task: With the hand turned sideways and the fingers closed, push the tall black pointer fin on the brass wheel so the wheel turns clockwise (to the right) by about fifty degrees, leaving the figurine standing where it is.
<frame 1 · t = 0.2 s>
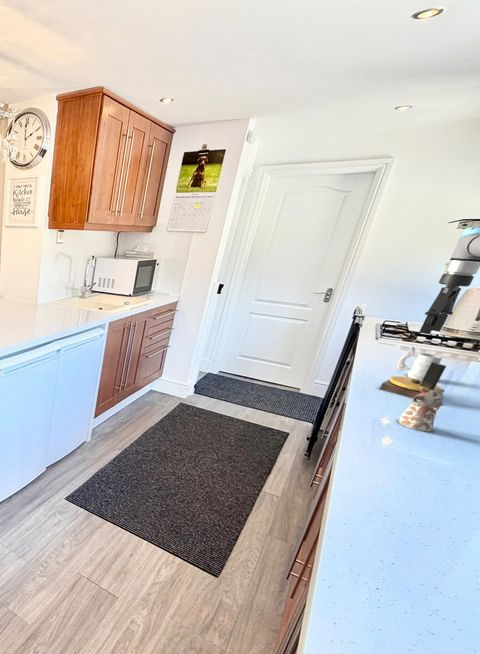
hand: (429, 332, 150), 21 cm above the countertop, tool pointing down, fingers open, 13 cm apart
wheel: (420, 372, 147), point 8 cm above the countertop, hinge at 0.0°
figurine: (413, 426, 124), on the countertop
mug: (412, 377, 168), on the countertop
wheel base: (410, 392, 150), on the countertop
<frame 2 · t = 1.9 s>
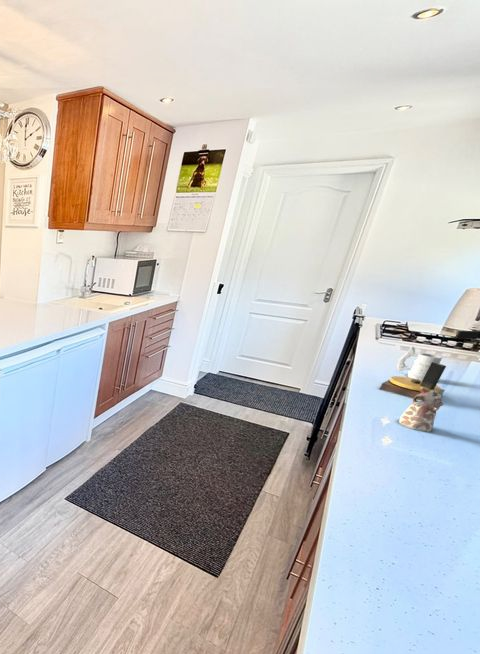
hand: (477, 340, 138), 22 cm above the countertop, tool horizontal, fingers open, 13 cm apart
nothing on the countertop moved.
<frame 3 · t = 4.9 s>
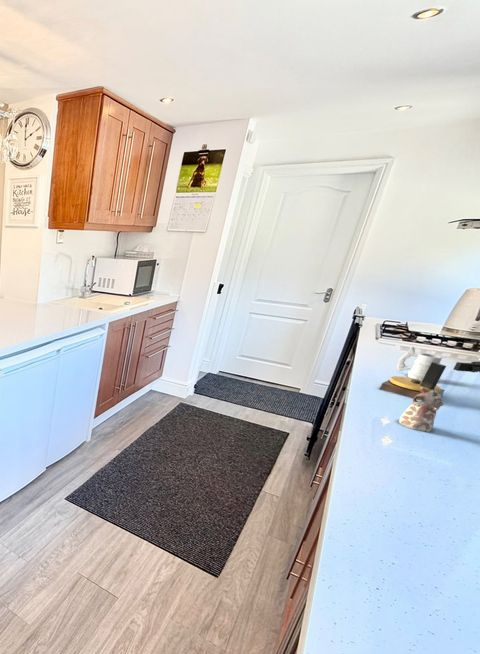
hand: (457, 366, 142), 12 cm above the countertop, tool horizontal, fingers closed
nothing on the countertop moved.
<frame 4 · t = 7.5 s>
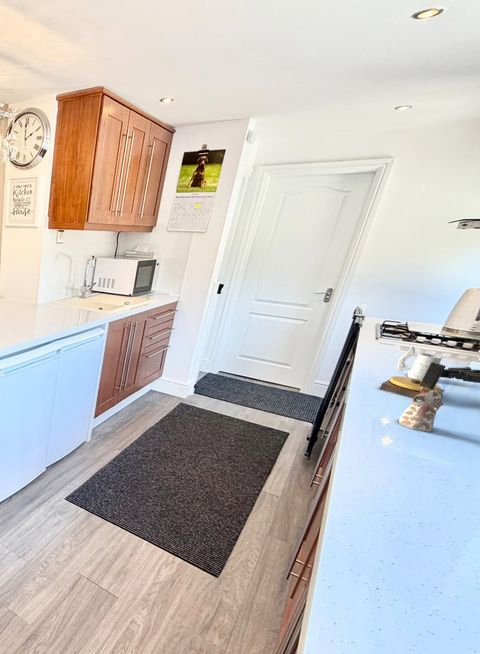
hand: (433, 372, 143), 9 cm above the countertop, tool horizontal, fingers closed
wheel: (420, 372, 147), point 8 cm above the countertop, hinge at -1.5°, touching gripper
everything else where it was.
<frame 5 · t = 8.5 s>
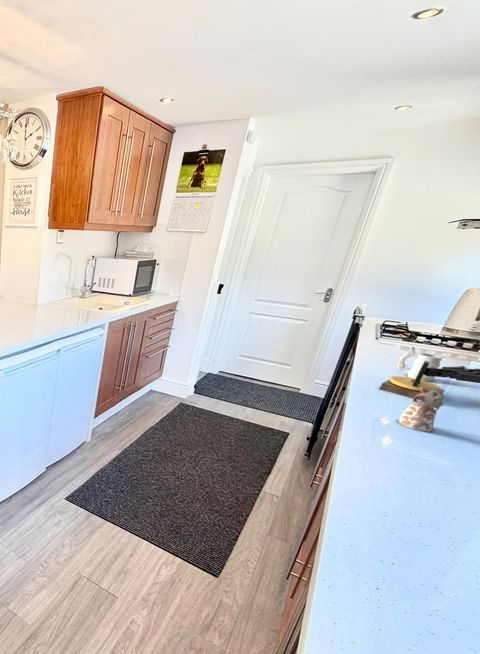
hand: (426, 371, 144), 9 cm above the countertop, tool horizontal, fingers closed
wheel: (420, 372, 147), point 8 cm above the countertop, hinge at -41.9°, touching gripper
everything else where it was.
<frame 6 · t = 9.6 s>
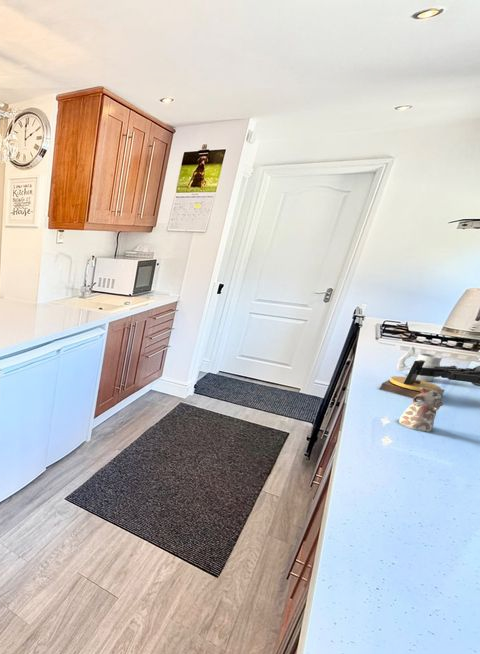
hand: (419, 371, 144), 10 cm above the countertop, tool horizontal, fingers closed
wheel: (420, 372, 147), point 8 cm above the countertop, hinge at -63.4°, touching gripper
everything else where it was.
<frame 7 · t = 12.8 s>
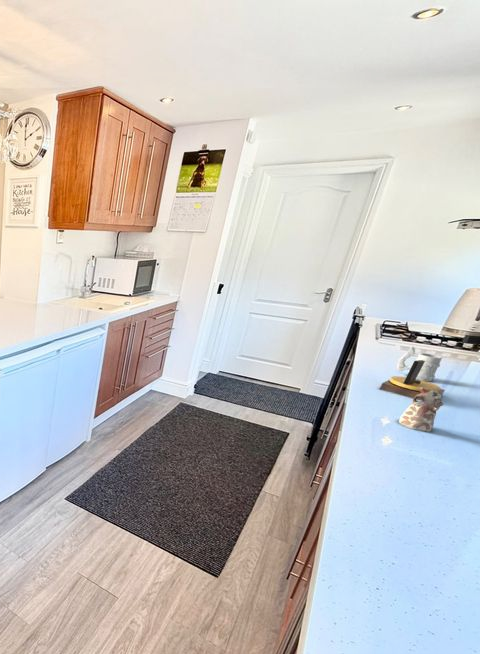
hand: (465, 339, 138), 22 cm above the countertop, tool horizontal, fingers closed
wheel: (420, 372, 147), point 8 cm above the countertop, hinge at -64.2°
everything else where it was.
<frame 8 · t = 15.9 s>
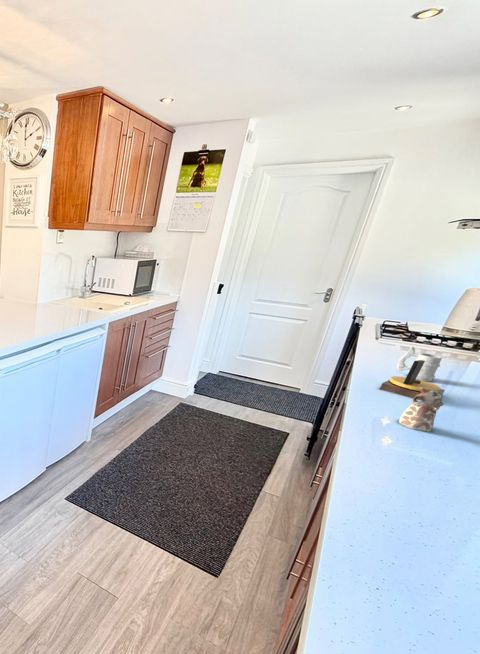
nothing on the countertop moved.
at the end: wheel at -64° (first picture: +0°); figurine moved 0.2 cm from its start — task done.
